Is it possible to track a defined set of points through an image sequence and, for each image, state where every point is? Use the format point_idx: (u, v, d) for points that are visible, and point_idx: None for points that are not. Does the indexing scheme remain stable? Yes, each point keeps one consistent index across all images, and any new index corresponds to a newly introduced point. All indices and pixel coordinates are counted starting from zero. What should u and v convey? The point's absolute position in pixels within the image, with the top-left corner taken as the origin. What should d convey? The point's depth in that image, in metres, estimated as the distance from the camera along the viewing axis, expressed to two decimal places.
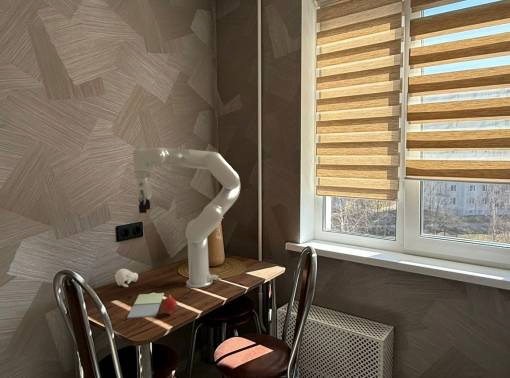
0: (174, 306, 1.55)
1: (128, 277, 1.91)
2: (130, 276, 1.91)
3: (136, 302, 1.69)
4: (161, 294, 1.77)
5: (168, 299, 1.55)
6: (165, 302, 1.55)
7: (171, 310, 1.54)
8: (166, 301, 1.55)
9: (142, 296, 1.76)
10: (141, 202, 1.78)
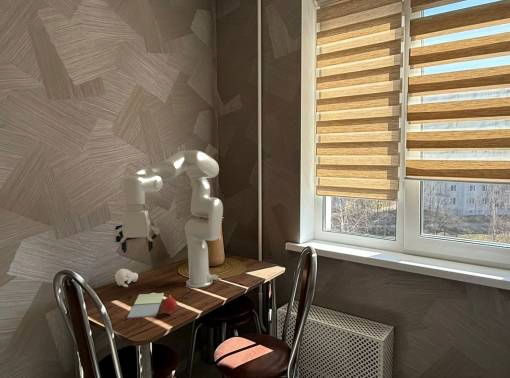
0: (174, 306, 1.55)
1: (128, 277, 1.91)
2: (130, 276, 1.91)
3: (136, 302, 1.69)
4: (161, 294, 1.77)
5: (168, 299, 1.55)
6: (165, 302, 1.55)
7: (171, 310, 1.54)
8: (166, 301, 1.55)
9: (142, 296, 1.76)
10: (155, 237, 1.53)
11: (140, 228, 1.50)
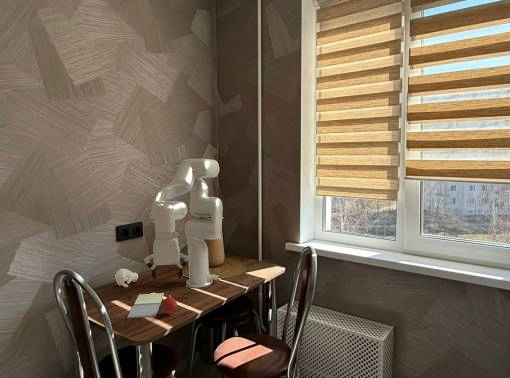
0: (174, 306, 1.55)
1: (128, 277, 1.91)
2: (130, 276, 1.91)
3: (136, 302, 1.69)
4: (161, 294, 1.77)
5: (168, 299, 1.55)
6: (165, 302, 1.55)
7: (171, 310, 1.54)
8: (166, 301, 1.55)
9: (142, 296, 1.76)
10: None
11: (170, 256, 1.52)
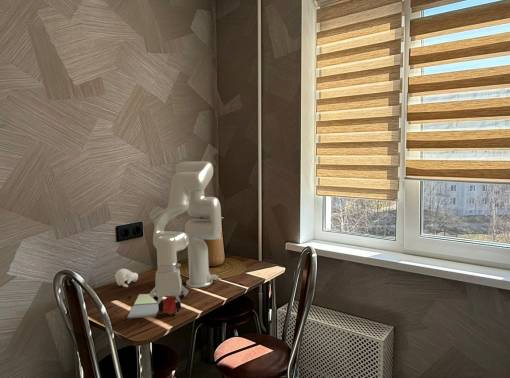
0: (174, 306, 1.55)
1: (128, 277, 1.91)
2: (130, 276, 1.91)
3: (136, 302, 1.69)
4: None
5: (168, 299, 1.55)
6: (165, 302, 1.55)
7: (171, 310, 1.54)
8: (166, 301, 1.55)
9: (142, 296, 1.76)
10: None
11: (172, 287, 1.54)
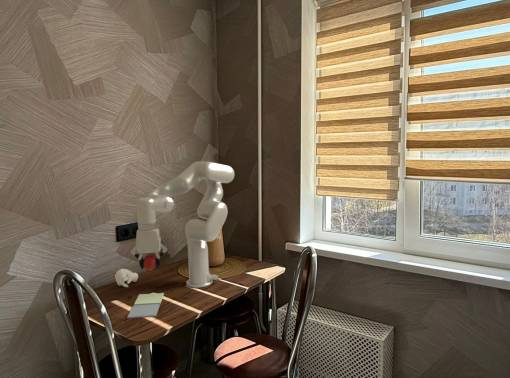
0: (154, 262, 1.68)
1: (128, 277, 1.91)
2: (130, 276, 1.91)
3: (136, 302, 1.69)
4: (161, 294, 1.77)
5: (148, 256, 1.68)
6: (146, 259, 1.67)
7: (151, 266, 1.67)
8: (146, 258, 1.67)
9: (142, 296, 1.76)
10: None
11: (152, 245, 1.66)
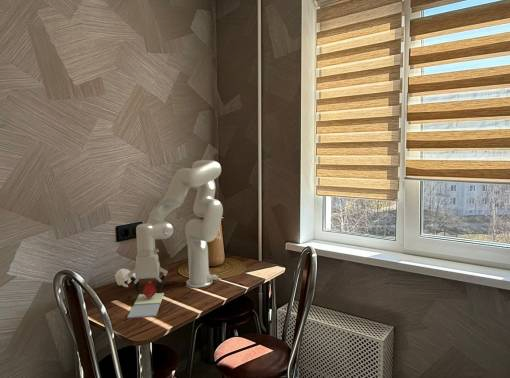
0: (153, 290, 1.71)
1: (128, 277, 1.91)
2: None
3: (136, 302, 1.69)
4: (161, 294, 1.77)
5: (148, 284, 1.71)
6: (145, 286, 1.71)
7: (150, 294, 1.70)
8: (146, 285, 1.71)
9: (142, 296, 1.76)
10: (163, 278, 1.73)
11: (151, 270, 1.69)
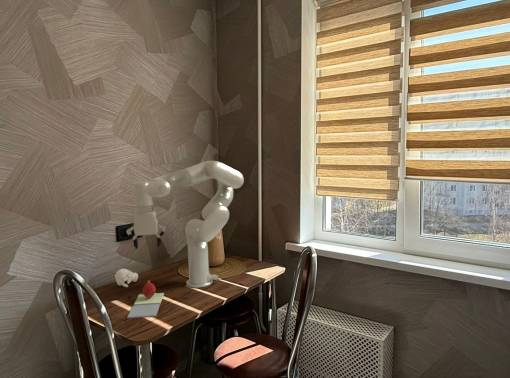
0: (153, 290, 1.71)
1: (128, 277, 1.91)
2: (130, 276, 1.91)
3: (136, 302, 1.69)
4: (161, 294, 1.77)
5: (147, 284, 1.71)
6: (144, 287, 1.71)
7: (150, 294, 1.70)
8: (145, 286, 1.71)
9: (142, 296, 1.76)
10: (162, 234, 1.76)
11: (149, 227, 1.73)
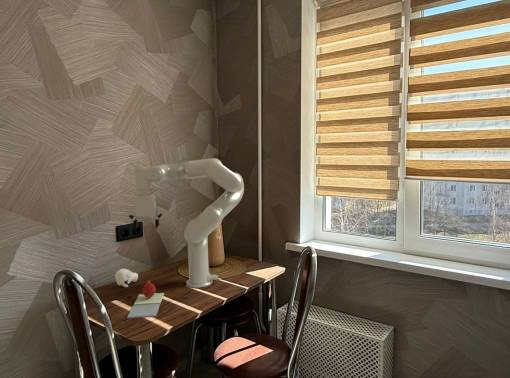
0: (153, 290, 1.71)
1: (128, 277, 1.91)
2: (130, 276, 1.91)
3: (136, 302, 1.69)
4: (161, 294, 1.77)
5: (147, 284, 1.71)
6: (144, 287, 1.71)
7: (150, 294, 1.70)
8: (145, 286, 1.71)
9: (142, 296, 1.76)
10: (160, 216, 1.88)
11: (148, 208, 1.85)
